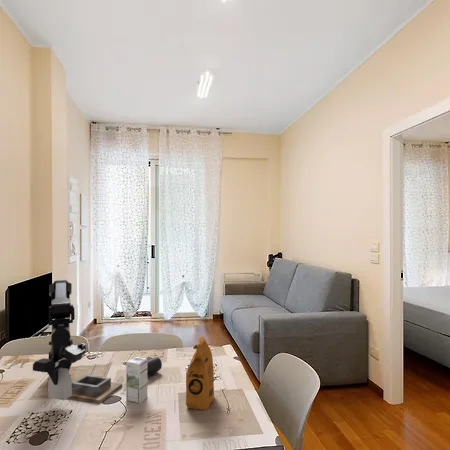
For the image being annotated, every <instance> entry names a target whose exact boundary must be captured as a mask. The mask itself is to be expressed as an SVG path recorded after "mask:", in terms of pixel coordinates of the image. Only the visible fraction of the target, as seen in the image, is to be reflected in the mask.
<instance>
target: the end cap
mask: <svg viewBox="0 0 450 450" xmlns="http://www.w3.org/2000/svg"><path fill="white" fill-rule="evenodd" d="M146 358H147V378H148V377H150V376H152V375H154V374H156V373H158V372H159V371H161V369H162V368H163V367H162V366H163V364H162V359H161V358H160V357H158V356H154V357H150V356H147V357H146Z"/></svg>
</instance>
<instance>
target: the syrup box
mask: <svg viewBox="0 0 450 450" xmlns="http://www.w3.org/2000/svg"><path fill="white" fill-rule="evenodd" d="M125 364H126V367H125V368H126V369H125V370H126V374H125V375H126V379H125V380H126V383H125V384H126V388H125V389H126V394H125V395H126V397H125V398H126V401H127V402H131V403H136V404H140V403H142V402H143V401H145V400H146V399H147V398H148V377H147V357H138V356H134V357H132V358H129V359H128V360H127V361H126V363H125Z"/></svg>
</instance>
